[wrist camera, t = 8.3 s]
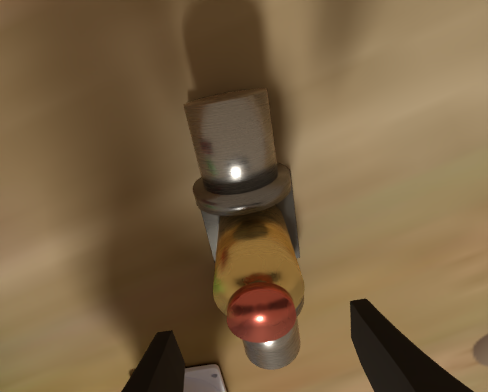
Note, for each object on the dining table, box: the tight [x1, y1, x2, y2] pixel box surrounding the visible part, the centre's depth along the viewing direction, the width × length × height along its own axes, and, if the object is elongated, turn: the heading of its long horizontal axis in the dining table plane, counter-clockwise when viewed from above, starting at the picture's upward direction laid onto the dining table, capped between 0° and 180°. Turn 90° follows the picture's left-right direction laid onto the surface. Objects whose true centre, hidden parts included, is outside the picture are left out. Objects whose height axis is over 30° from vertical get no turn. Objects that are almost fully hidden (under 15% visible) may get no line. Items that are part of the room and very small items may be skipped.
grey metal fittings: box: [184, 88, 304, 369], centre depth 17 cm, size 17×6×5 cm, turn 10°
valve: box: [213, 205, 304, 343], centre depth 16 cm, size 4×4×8 cm
